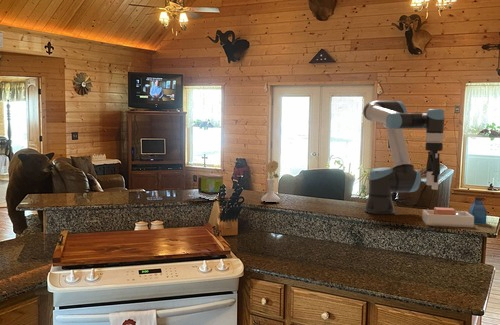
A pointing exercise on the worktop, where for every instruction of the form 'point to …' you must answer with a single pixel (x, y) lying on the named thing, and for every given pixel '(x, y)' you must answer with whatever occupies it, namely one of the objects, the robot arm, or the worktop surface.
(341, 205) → the worktop surface
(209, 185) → the tea box
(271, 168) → the flower in vase
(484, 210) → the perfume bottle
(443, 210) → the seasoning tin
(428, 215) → the tray
